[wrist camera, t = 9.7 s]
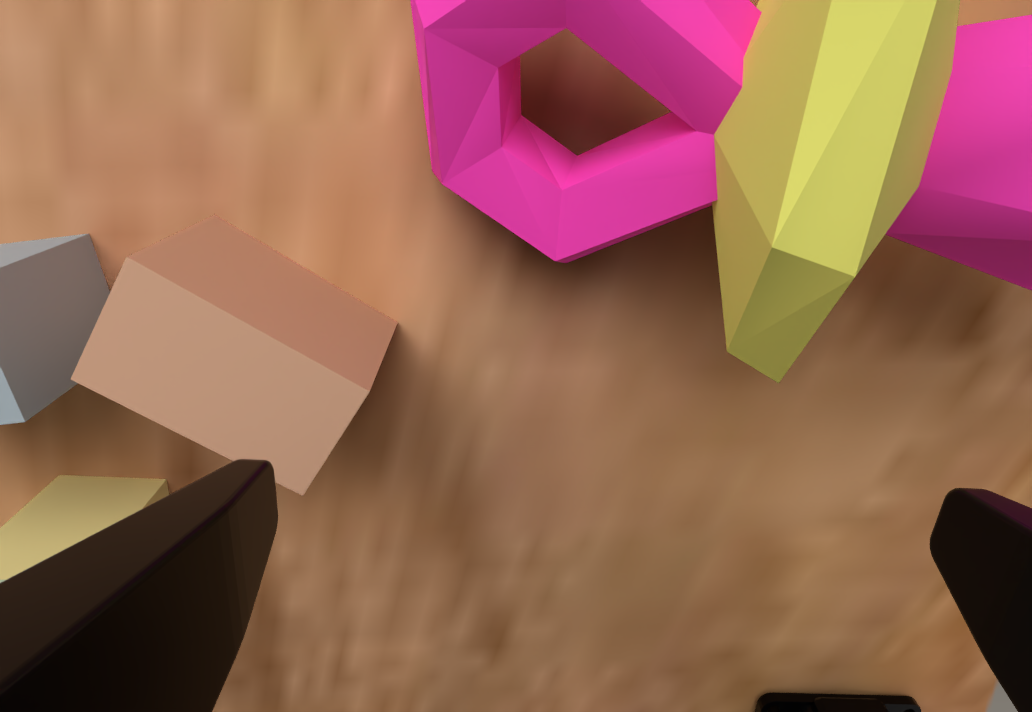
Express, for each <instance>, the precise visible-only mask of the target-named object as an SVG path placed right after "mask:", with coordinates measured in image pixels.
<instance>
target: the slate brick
mask: <svg viewBox="0 0 1032 712" xmlns="http://www.w3.org/2000/svg"><path fill="white" fill-rule="evenodd" d="M109 294H110V290H109V288H108V285H107V282H106V279H105V277H104V274H103V271H102V268H101V265H100V263H99V260H98V257H97V254H96V252H95V249H94V246H93V243H92V240H91V238H90V235H89V234H82V235H74V236H65V237H57V238H48V239H40V240H32V241H23V242H15V243H6V244H0V425H3V424H12V423H21V422H26V421H27V420H29V419H30V418H31V417H33V416H34V415H36V414H37V413H38V412H40V411H41V410H42V409H44V408H45V407H46V406H48V405H49V404H51V403H52V402H53V401H55V400H56V399H57V398H59V397H60V396H62V395H63V394H64V393H66V392H67V391H68V390H70V389H71V388H73V387H74V386H75V385H77V384H78V383H77V382H75V381H73V380H71V377H72V375H73V372H74V370H75V368H76V366H77V364H78V362H79V359H80V357H81V355H82V353H83V351H84V348H85V346H86V344H87V342H88V340H89V338H90V335H91V333H92V331H93V329H94V327H95V324H96V322H97V320H98V318H99V316H100V313H101V311H102V309H103V307H104V305H105V303H106V300H107V298H108V296H109Z"/></svg>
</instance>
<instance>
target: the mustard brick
mask: <svg viewBox="0 0 1032 712" xmlns="http://www.w3.org/2000/svg"><path fill="white" fill-rule="evenodd" d="M168 495H169V490H168V484H167V479H151V478H125V477H99V476H73V475H59V476H57V477H56V478H55V479H54V480H53V481H52V482H51V483H50V484H49V485H48V486H46V487H45V488H44V489H43V490H42V491H41V492H40V493H39V494H38V495H36V496H35V497H34V498H33V499H32V500H31V501H30V502H29V503H28V504H26V505H25V506H24V507H23V508H22V509H21V510H20V511H19V512H18V513H17V514H15V515H14V516H13V517H12V518H11V519H10V520H9V521H8V522H7V523H5V524H4V525H3V526H2V527H1V528H0V580H7V579H9V578H11V577H12V576H14V575H16V574H18V573H20V572H22V571H24V570H26V569H28V568H30V567H32V566H34V565H36V564H37V563H39V562H41V561H43V560H45V559H47V558H49V557H51V556H53V555H55V554H57V553H59V552H61V551H62V550H64V549H66V548H68V547H70V546H72V545H74V544H76V543H78V542H80V541H82V540H84V539H85V538H87V537H89V536H91V535H93V534H95V533H97V532H99V531H101V530H103V529H105V528H107V527H109V526H110V525H112V524H114V523H116V522H118V521H120V520H122V519H124V518H126V517H128V516H130V515H132V514H133V513H135V512H137V511H139V510H141V509H143V508H145V507H147V506H149V505H151V504H153V503H155V502H157V501H158V500H160V499H162V498H164V497H166V496H168Z"/></svg>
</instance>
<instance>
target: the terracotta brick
mask: <svg viewBox="0 0 1032 712" xmlns="http://www.w3.org/2000/svg"><path fill="white" fill-rule="evenodd" d="M397 323H398V322H396V321H395V320H393V319H391V318H390V317H388V316H386V315H385V314H383V313H381V312H379V311H378V310H376V309H374V308H373V307H371V306H369V305H368V304H366V303H364V302H363V301H361V300H359V299H357V298H356V297H354V296H352V295H351V294H349V293H347V292H346V291H344V290H342V289H340V288H339V287H337V286H335V285H334V284H332V283H330V282H329V281H327V280H325V279H323V278H322V277H320V276H318V275H317V274H315V273H313V272H312V271H310V270H308V269H306V268H305V267H303V266H301V265H300V264H298V263H296V262H295V261H293V260H291V259H289V258H288V257H286V256H284V255H283V254H281V253H279V252H278V251H276V250H274V249H273V248H271V247H269V246H267V245H266V244H264V243H262V242H261V241H259V240H257V239H256V238H254V237H252V236H250V235H249V234H247V233H245V232H244V231H242V230H240V229H239V228H237V227H235V226H233V225H232V224H230V223H228V222H227V221H225V220H223V219H222V218H220V217H218V216H216V215H215V214H214V215H212V216H210V217H208V218H206V219H204V220H202V221H200V222H198V223H196V224H193V225H191V226H189V227H187V228H185V229H183V230H181V231H179V232H177V233H175V234H173V235H171V236H168V237H166V238H164V239H162V240H160V241H158V242H156V243H154V244H152V245H150V246H148V247H146V248H143V249H141V250H139V251H137V252H135V253H133V254H131V255H129V256H127V257H126V259H125V261H124V263H123V265H122V268H121V270H120V272H119V274H118V276H117V279H116V281H115V283H114V285H113V287H112V289H111V292H110V294H109V296H108V298H107V300H106V303H105V305H104V307H103V309H102V311H101V313H100V316H99V318H98V320H97V322H96V324H95V327H94V329H93V331H92V333H91V335H90V338H89V340H88V342H87V344H86V346H85V348H84V351H83V353H82V355H81V357H80V359H79V362H78V364H77V366H76V368H75V370H74V372H73V375H72V377H71V380H73V381H75V382H77V383H79V384H81V385H83V386H85V387H87V388H89V389H91V390H93V391H95V392H97V393H99V394H101V395H103V396H105V397H107V398H109V399H110V400H112V401H114V402H116V403H118V404H120V405H122V406H124V407H126V408H128V409H130V410H132V411H134V412H136V413H138V414H140V415H142V416H144V417H146V418H148V419H150V420H152V421H154V422H156V423H158V424H160V425H162V426H164V427H166V428H168V429H170V430H172V431H174V432H176V433H178V434H180V435H182V436H184V437H186V438H188V439H190V440H192V441H194V442H196V443H198V444H200V445H202V446H204V447H206V448H208V449H210V450H212V451H214V452H216V453H218V454H220V455H222V456H224V457H226V458H228V459H230V460H232V461H235V460H238V459H257V460H268V461H269V462H270V463H271V464H272V466H273V469H274V475H275V482H276V483H278V484H280V485H282V486H284V487H286V488H288V489H290V490H292V491H294V492H296V493H298V494H300V495H302V496H303V495H304V493H305V492H306V490H307V489H308V487H309V485H310V484H311V482H312V481H313V479H314V478H315V476H316V475H317V473H318V471H319V470H320V468H321V467H322V465H323V464H324V462H325V460H326V459H327V457H328V456H329V454H330V453H331V451H332V450H333V448H334V446H335V445H336V443H337V442H338V440H339V439H340V437H341V436H342V434H343V432H344V431H345V429H346V428H347V426H348V425H349V423H350V421H351V420H352V418H353V417H354V415H355V414H356V412H357V411H358V409H359V407H360V406H361V404H362V403H363V401H364V400H365V398H366V396H367V395H368V393H369V392H370V389H371V387H372V385H373V382H374V380H375V377H376V375H377V372H378V370H379V367H380V365H381V362H382V360H383V358H384V355H385V353H386V350H387V348H388V345H389V343H390V340H391V338H392V335H393V333H394V331H395V328H396V326H397Z"/></svg>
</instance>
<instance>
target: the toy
mask: <svg viewBox="0 0 1032 712" xmlns="http://www.w3.org/2000/svg"><path fill="white" fill-rule="evenodd" d="M410 1H411V8H412V16H413V24H414V32H415V40H416V48H417V56H418V63H419V71H420V79H421V87H422V95H423V103H424V110H425V118H426V126H427V134H428V142H429V150H430V158H431V165H432V171H433V173H434V174H435V175H436V177H437V178H438V179H439V181H440V182H441V183H442V184H443V185H444V186H446V187H447V188H449V189H450V190H452V191H453V192H454V193H456V194H457V195H459V196H460V197H462V198H463V199H465V200H466V201H468V202H469V203H471V204H472V205H474V206H475V207H476V208H478V209H479V210H481V211H482V212H484V213H485V214H487V215H488V216H490V217H491V218H493V219H494V220H495V221H497V222H498V223H500V224H501V225H503V226H504V227H506V228H507V229H509V230H510V231H512V232H513V233H514V234H516V235H517V236H519V237H520V238H522V239H523V240H525V241H526V242H528V243H529V244H531V245H532V246H533V247H535V248H536V249H538V250H539V251H541V252H542V253H544V254H545V255H547V256H548V257H550V258H551V259H552V260H554V261H556V262H562V263H568V262H570V261H573V260H575V259H578V258H580V257H583V256H586V255H588V254H591V253H593V252H596V251H598V250H601V249H603V248H606V247H608V246H611V245H613V244H616V243H618V242H621V241H623V240H626V239H628V238H631V237H633V236H636V235H638V234H641V233H643V232H646V231H649V230H651V229H654V228H656V227H659V226H661V225H664V224H666V223H669V222H671V221H674V220H676V219H679V218H681V217H684V216H686V215H689V214H691V213H694V212H696V211H699V210H701V209H704V208H706V207H709V206H711V205H712V208H713V218H714V228H715V238H716V248H717V258H718V267H719V277H720V287H721V297H722V307H723V317H724V327H725V337H726V347H727V352H728V353H730V354H732V355H733V356H735V357H737V358H738V359H740V360H741V361H743V362H745V363H746V364H748V365H750V366H751V367H753V368H754V369H756V370H758V371H759V372H761V373H763V374H764V375H766V376H768V377H769V378H771V379H772V380H774V381H776V382H777V383H779V382H780V381H781V379H782V378H783V377H784V375H785V374H786V372H787V371H788V370H789V368H790V367H791V365H792V364H793V363H794V361H795V360H796V359H797V357H798V356H799V354H800V353H801V352H802V350H803V349H804V347H805V346H806V345H807V343H808V342H809V340H810V339H811V338H812V336H813V335H814V333H815V332H816V331H817V329H818V328H819V327H820V325H821V324H822V322H823V321H824V320H825V318H826V317H827V315H828V314H829V313H830V311H831V310H832V308H833V307H834V306H835V304H836V303H837V301H838V300H839V299H840V297H841V296H842V294H843V293H844V292H845V290H846V289H847V288H848V286H849V285H850V283H851V282H852V281H853V279H854V278H855V276H856V275H857V274H858V272H859V271H860V269H861V268H862V266H863V265H864V264H865V262H866V261H867V259H868V258H869V256H870V255H871V254H872V252H873V251H874V249H875V248H876V247H877V245H878V244H879V242H880V241H881V239H882V238H883V237H884V235H888V236H891V237H893V238H896V239H898V240H901V241H904V242H906V243H909V244H912V245H914V246H917V247H919V248H922V249H925V250H927V251H930V252H932V253H935V254H938V255H940V256H943V257H946V258H948V259H951V260H953V261H956V262H959V263H961V264H964V265H967V266H969V267H972V268H974V269H977V270H980V271H982V272H985V273H987V274H990V275H993V276H995V277H998V278H1001V279H1003V280H1006V281H1008V282H1011V283H1014V284H1016V285H1019V286H1021V287H1024V288H1027V289H1029V290H1032V15H1028V16H1021V17H1015V18H1008V19H1002V20H995V21H989V22H982V23H976V24H969V25H963V26H957V22H958V13H959V5H960V0H759V2H758V4H757V6H756V7H755V6H754V5H753V4H752V3H751V2H750V1H749V0H410ZM565 28H567V29H568V30H570V31H571V32H572V33H573V34H575V35H576V36H577V37H578V38H580V39H581V40H582V41H583V42H585V43H586V44H587V45H588V46H590V47H591V48H592V49H594V50H595V51H596V52H597V53H599V54H600V55H601V56H602V57H604V58H605V59H606V60H607V61H609V62H610V63H611V64H612V65H614V66H615V67H616V68H618V69H619V70H620V71H621V72H623V73H624V74H625V75H626V76H628V77H629V78H630V79H631V80H633V81H634V82H635V83H636V84H638V85H639V86H640V87H642V88H643V89H644V90H645V91H647V92H648V93H649V94H650V95H652V96H653V97H654V98H655V99H657V100H658V101H659V102H660V103H662V104H663V105H664V106H666V107H667V108H668V109H669V110H671V111H672V112H670V113H668V114H666V115H664V116H662V117H659V118H657V119H655V120H653V121H651V122H649V123H646V124H644V125H642V126H640V127H638V128H636V129H634V130H631V131H629V132H627V133H625V134H623V135H621V136H619V137H616V138H614V139H612V140H610V141H608V142H606V143H604V144H601V145H599V146H597V147H595V148H593V149H591V150H588V151H586V152H584V153H582V154H580V155H578V156H577V155H575V154H574V153H573V152H571V151H570V150H569V149H567V148H566V147H564V146H563V145H562V144H560V143H559V142H558V141H556V140H555V139H553V138H552V137H551V136H549V135H548V134H547V133H545V132H544V131H543V130H541V129H540V128H538V127H537V126H536V125H534V124H533V123H532V122H530V121H529V120H527V119H526V118H525V117H523V116H522V115H521V80H520V55H521V54H522V53H524V52H526V51H528V50H529V49H531V48H533V47H534V46H536V45H538V44H540V43H541V42H543V41H545V40H546V39H548V38H550V37H552V36H553V35H555V34H557V33H558V32H560V31H562V30H564V29H565Z"/></svg>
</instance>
